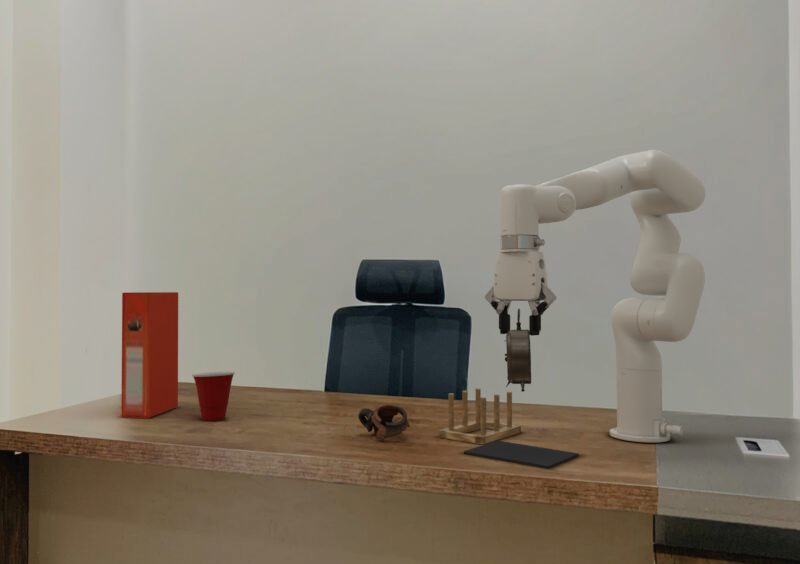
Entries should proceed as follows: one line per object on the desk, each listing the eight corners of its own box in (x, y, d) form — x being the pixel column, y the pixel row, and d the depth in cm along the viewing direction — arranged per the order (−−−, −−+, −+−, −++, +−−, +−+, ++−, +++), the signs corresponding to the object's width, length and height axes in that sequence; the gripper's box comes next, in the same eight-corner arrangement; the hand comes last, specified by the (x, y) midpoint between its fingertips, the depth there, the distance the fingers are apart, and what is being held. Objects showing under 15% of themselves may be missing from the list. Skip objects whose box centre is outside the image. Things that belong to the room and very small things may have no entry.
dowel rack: (520, 432, 166) (520, 391, 166) (483, 444, 152) (483, 399, 153) (478, 426, 173) (478, 386, 173) (438, 437, 160) (438, 394, 160)
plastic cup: (219, 413, 188) (219, 368, 188) (243, 419, 180) (243, 371, 180) (183, 418, 180) (183, 371, 181) (206, 424, 173) (206, 375, 173)
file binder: (120, 417, 182) (122, 292, 183) (150, 406, 199) (152, 292, 200) (149, 418, 180) (151, 292, 181) (177, 407, 197) (179, 292, 198)
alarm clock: (531, 393, 138) (533, 309, 139) (503, 391, 139) (505, 308, 140) (530, 385, 149) (531, 308, 149) (503, 384, 150) (505, 307, 151)
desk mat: (578, 455, 142) (578, 453, 142) (548, 468, 132) (548, 466, 132) (497, 442, 154) (497, 440, 154) (464, 453, 144) (463, 451, 144)
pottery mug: (410, 435, 163) (415, 407, 160) (398, 461, 156) (403, 433, 152) (362, 419, 167) (366, 391, 163) (347, 443, 159) (351, 415, 155)
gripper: (567, 245, 142) (568, 335, 141) (490, 248, 153) (490, 331, 153) (551, 243, 136) (551, 337, 136) (472, 246, 148) (472, 333, 147)
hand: (519, 333), depth 144 cm, fingers closed on alarm clock, 5 cm apart
